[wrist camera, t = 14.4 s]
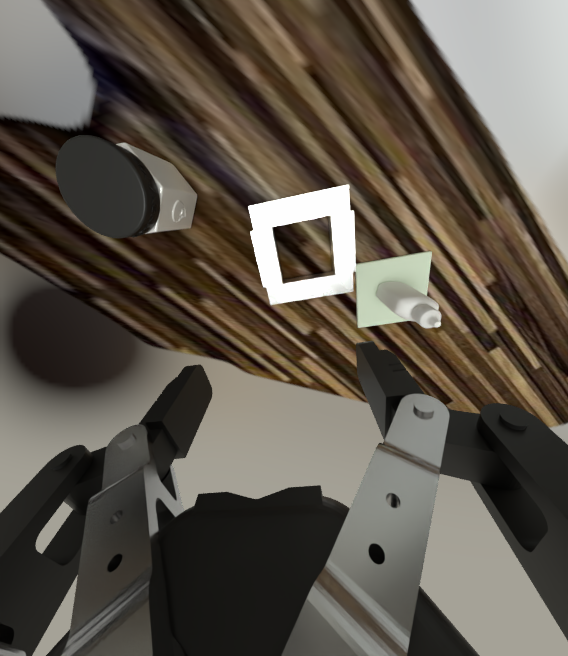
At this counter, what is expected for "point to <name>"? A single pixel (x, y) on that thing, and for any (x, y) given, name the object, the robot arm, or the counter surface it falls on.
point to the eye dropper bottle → (409, 303)
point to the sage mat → (388, 270)
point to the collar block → (298, 210)
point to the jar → (122, 188)
